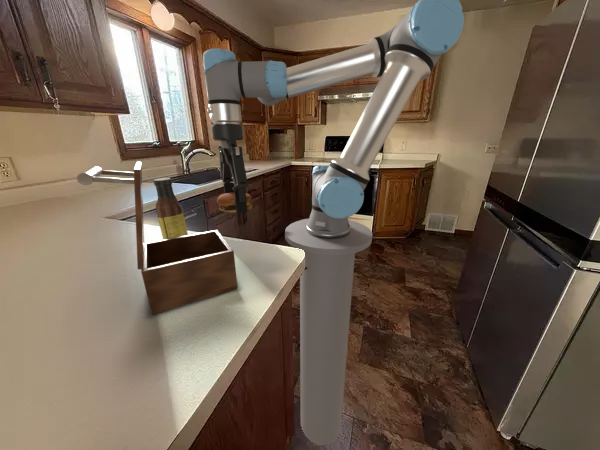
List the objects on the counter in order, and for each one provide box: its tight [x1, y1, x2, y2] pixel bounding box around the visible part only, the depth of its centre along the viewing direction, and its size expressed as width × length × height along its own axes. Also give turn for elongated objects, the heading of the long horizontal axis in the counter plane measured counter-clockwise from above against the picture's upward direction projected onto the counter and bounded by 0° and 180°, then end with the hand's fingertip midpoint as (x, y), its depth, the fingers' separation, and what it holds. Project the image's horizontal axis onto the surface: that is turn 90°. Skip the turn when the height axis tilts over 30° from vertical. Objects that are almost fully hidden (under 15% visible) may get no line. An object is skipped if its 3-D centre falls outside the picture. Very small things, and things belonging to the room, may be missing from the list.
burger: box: [216, 192, 253, 213], centre depth 69 cm, size 10×9×5 cm
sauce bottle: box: [153, 177, 189, 240], centre depth 66 cm, size 6×6×20 cm
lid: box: [76, 161, 145, 270], centre depth 42 cm, size 16×14×8 cm
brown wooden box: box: [140, 229, 239, 315], centre depth 51 cm, size 16×14×9 cm
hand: (236, 208), depth 69 cm, fingers closed on burger, 10 cm apart
